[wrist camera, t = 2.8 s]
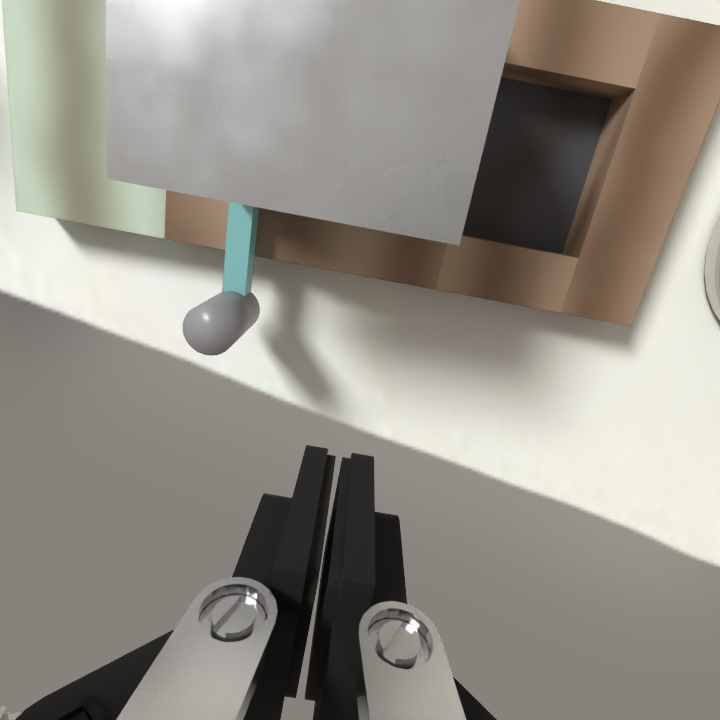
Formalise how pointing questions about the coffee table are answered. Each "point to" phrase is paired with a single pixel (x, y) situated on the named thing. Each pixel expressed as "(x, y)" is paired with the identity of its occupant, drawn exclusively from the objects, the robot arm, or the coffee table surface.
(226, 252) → the frame
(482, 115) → the tunnel
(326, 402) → the coffee table surface
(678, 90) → the track board
